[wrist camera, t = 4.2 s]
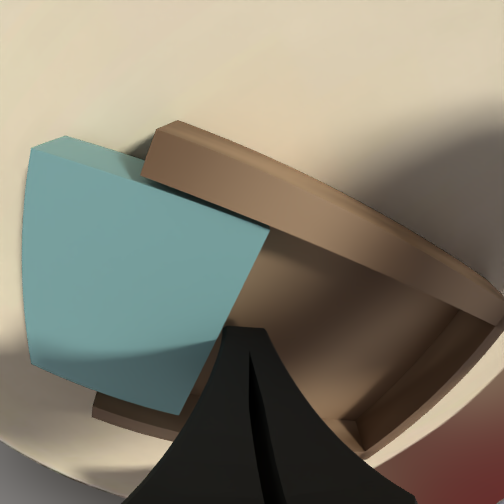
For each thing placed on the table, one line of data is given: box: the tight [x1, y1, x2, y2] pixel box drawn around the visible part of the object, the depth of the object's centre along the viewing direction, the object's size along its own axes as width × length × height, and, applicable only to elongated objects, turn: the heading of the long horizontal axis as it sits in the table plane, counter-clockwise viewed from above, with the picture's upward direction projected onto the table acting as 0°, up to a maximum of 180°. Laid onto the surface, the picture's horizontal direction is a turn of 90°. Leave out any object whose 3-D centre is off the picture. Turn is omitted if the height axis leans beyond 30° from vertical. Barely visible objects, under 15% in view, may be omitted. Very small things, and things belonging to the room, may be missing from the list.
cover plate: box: [22, 136, 270, 415], centre depth 9 cm, size 6×8×2 cm
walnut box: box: [92, 120, 504, 460], centre depth 10 cm, size 14×11×2 cm
